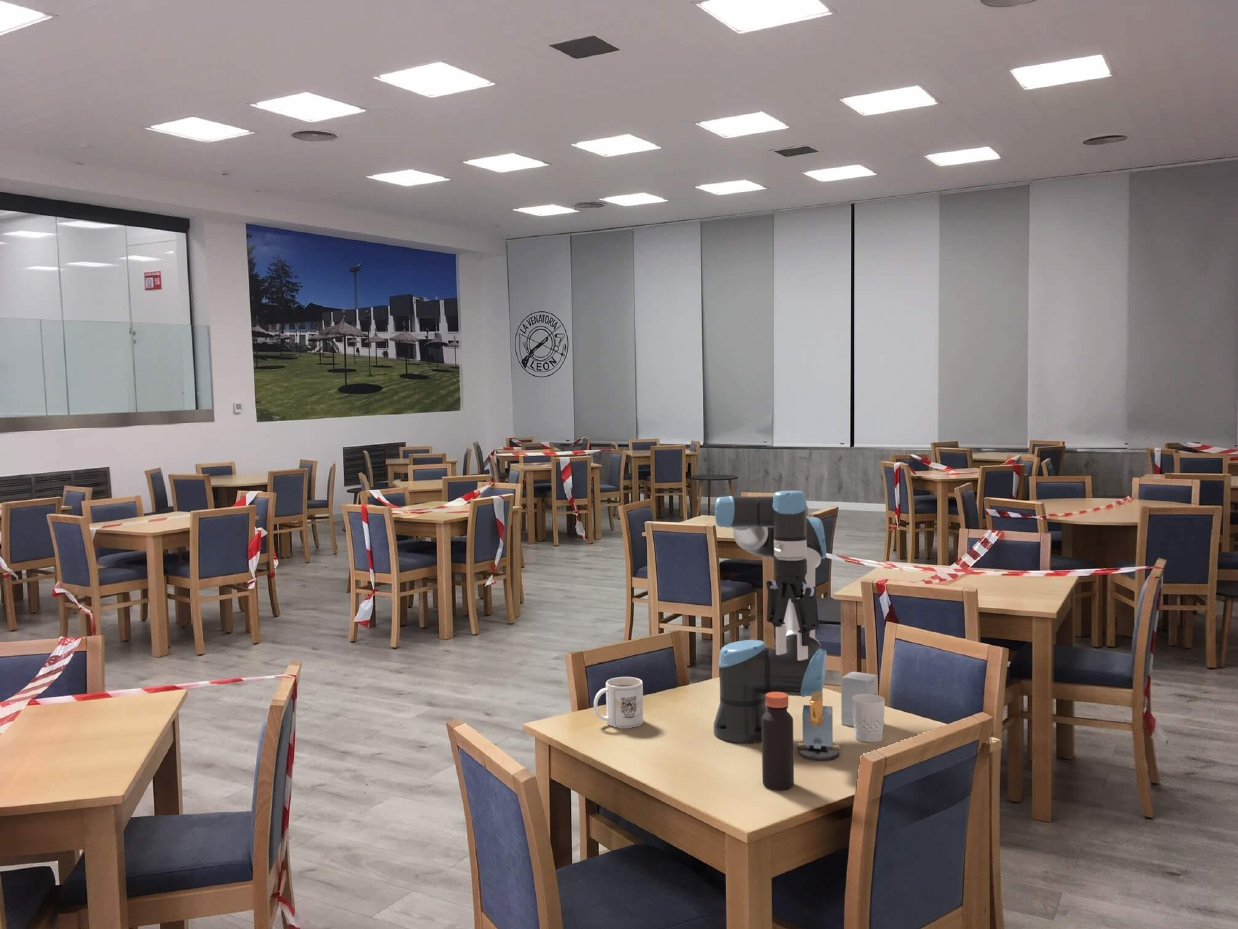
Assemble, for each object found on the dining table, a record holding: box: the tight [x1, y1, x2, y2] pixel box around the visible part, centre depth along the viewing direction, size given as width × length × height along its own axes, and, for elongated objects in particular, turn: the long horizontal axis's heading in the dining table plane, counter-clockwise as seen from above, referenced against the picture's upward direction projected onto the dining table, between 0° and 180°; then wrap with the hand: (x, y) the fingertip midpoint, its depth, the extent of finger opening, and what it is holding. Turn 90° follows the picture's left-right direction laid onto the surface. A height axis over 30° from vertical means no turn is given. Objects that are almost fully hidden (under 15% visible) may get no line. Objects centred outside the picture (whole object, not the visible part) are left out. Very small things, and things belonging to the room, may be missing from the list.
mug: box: [593, 676, 644, 729], centre depth 247 cm, size 10×12×11 cm
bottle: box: [761, 692, 795, 791], centre depth 203 cm, size 7×7×20 cm
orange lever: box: [802, 691, 834, 749], centre depth 218 cm, size 7×17×13 cm, turn 166°
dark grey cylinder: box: [796, 741, 841, 762], centre depth 222 cm, size 10×10×9 cm
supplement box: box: [840, 671, 879, 727], centre depth 242 cm, size 7×7×13 cm
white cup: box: [852, 694, 886, 743], centre depth 231 cm, size 8×8×10 cm
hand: (791, 656), depth 216 cm, fingers open, 6 cm apart
